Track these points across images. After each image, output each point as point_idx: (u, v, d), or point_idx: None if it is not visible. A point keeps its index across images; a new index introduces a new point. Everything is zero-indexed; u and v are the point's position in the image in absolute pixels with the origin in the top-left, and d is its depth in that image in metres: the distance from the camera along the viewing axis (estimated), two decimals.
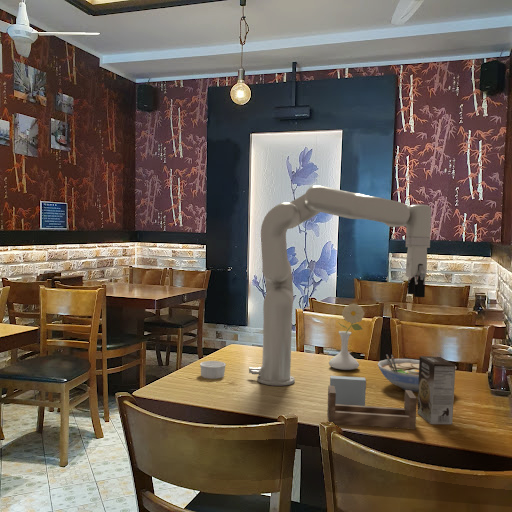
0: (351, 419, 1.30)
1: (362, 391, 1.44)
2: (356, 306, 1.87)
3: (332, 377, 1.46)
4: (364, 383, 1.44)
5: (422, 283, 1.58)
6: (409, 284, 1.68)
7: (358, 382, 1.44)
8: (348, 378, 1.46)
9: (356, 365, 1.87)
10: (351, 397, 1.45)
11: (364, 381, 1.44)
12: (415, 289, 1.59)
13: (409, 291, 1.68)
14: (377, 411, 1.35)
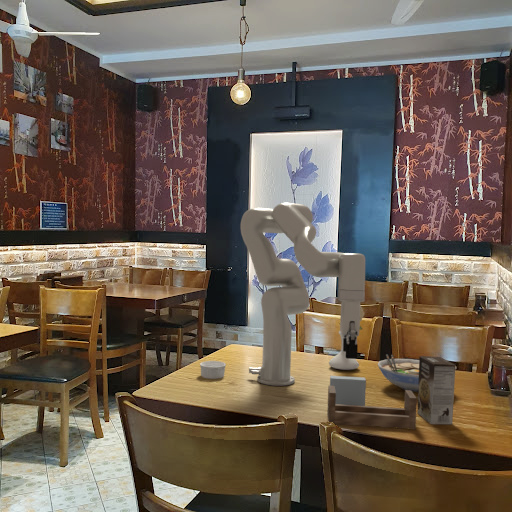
0: (351, 419, 1.30)
1: (362, 391, 1.44)
2: None
3: (332, 377, 1.46)
4: (364, 383, 1.44)
5: (354, 343, 1.39)
6: (344, 340, 1.50)
7: (358, 382, 1.44)
8: (348, 378, 1.46)
9: (356, 365, 1.87)
10: (351, 397, 1.45)
11: (364, 381, 1.44)
12: (347, 349, 1.41)
13: (344, 348, 1.50)
14: (377, 411, 1.35)
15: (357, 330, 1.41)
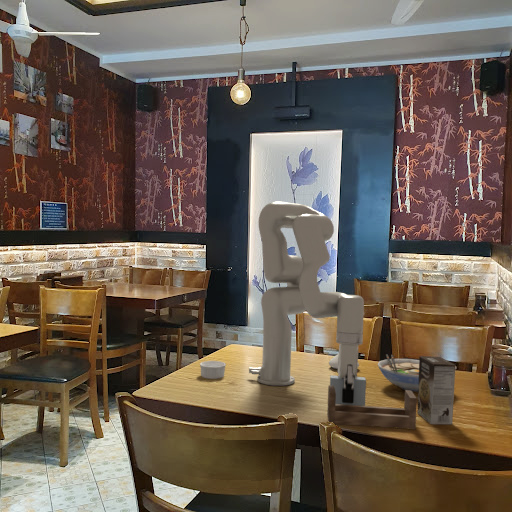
0: (351, 419, 1.30)
1: (362, 391, 1.44)
2: None
3: (332, 377, 1.46)
4: (364, 383, 1.44)
5: (350, 388, 1.43)
6: None
7: (358, 382, 1.44)
8: None
9: None
10: None
11: (364, 381, 1.44)
12: (343, 394, 1.44)
13: None
14: (377, 411, 1.35)
15: (354, 378, 1.42)
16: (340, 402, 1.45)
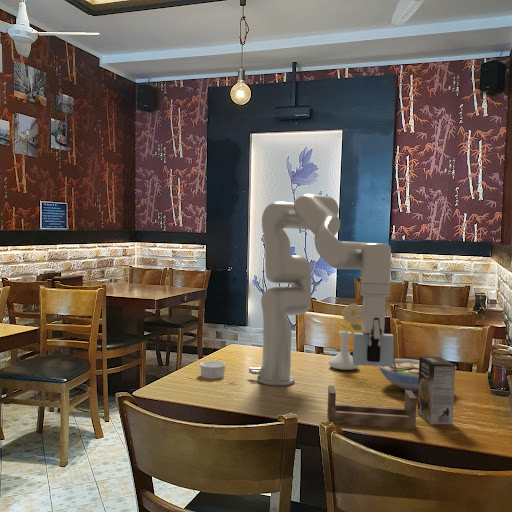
0: (351, 419, 1.30)
1: (389, 348, 1.31)
2: (356, 306, 1.87)
3: (356, 333, 1.32)
4: (392, 339, 1.30)
5: (376, 345, 1.29)
6: None
7: (385, 338, 1.31)
8: None
9: (356, 365, 1.87)
10: None
11: (392, 337, 1.30)
12: (368, 352, 1.31)
13: None
14: (377, 411, 1.35)
15: (381, 333, 1.28)
16: (365, 361, 1.31)
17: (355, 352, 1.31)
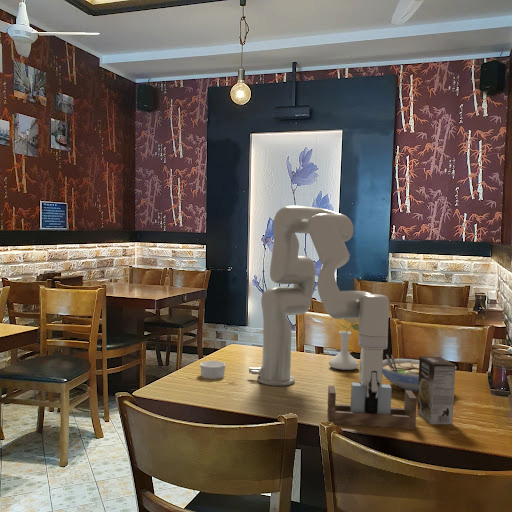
0: (351, 419, 1.30)
1: (387, 400, 1.31)
2: None
3: (354, 384, 1.33)
4: (389, 391, 1.31)
5: (374, 397, 1.30)
6: None
7: (383, 390, 1.31)
8: None
9: (356, 365, 1.87)
10: None
11: (389, 389, 1.31)
12: (366, 403, 1.31)
13: None
14: None
15: (379, 386, 1.29)
16: (363, 412, 1.32)
17: (353, 403, 1.32)
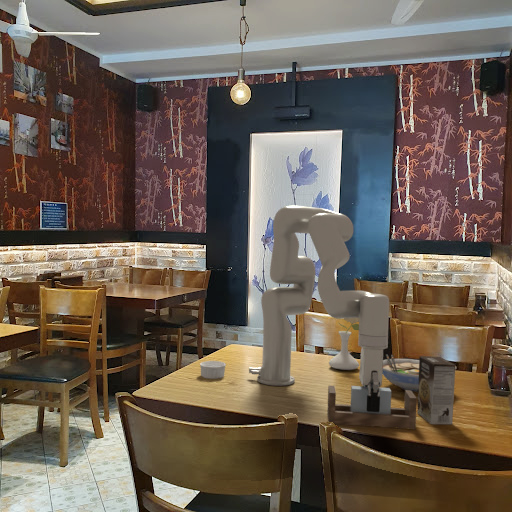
0: (351, 419, 1.30)
1: (387, 404, 1.31)
2: None
3: (354, 388, 1.33)
4: (389, 394, 1.31)
5: (376, 395, 1.27)
6: None
7: (383, 393, 1.31)
8: None
9: (356, 365, 1.87)
10: None
11: (389, 392, 1.31)
12: (368, 402, 1.28)
13: None
14: None
15: (380, 381, 1.28)
16: None
17: (353, 407, 1.32)
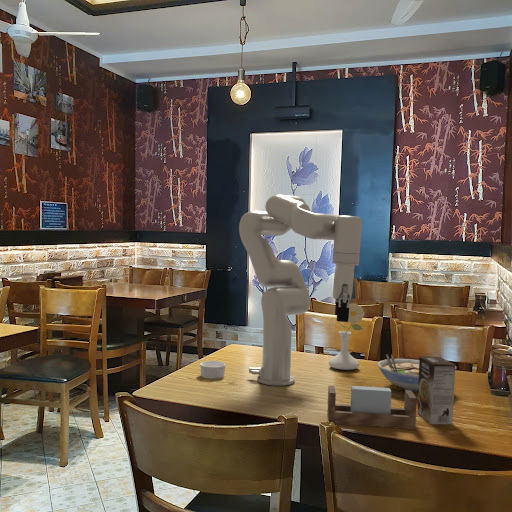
0: (351, 419, 1.30)
1: (387, 404, 1.31)
2: (356, 306, 1.87)
3: (354, 388, 1.33)
4: (389, 394, 1.31)
5: (345, 306, 1.38)
6: (337, 304, 1.49)
7: (383, 393, 1.31)
8: (371, 389, 1.32)
9: (356, 365, 1.87)
10: (375, 410, 1.31)
11: (389, 392, 1.31)
12: (338, 312, 1.40)
13: (336, 312, 1.49)
14: None
15: (349, 293, 1.39)
16: None
17: (353, 407, 1.32)
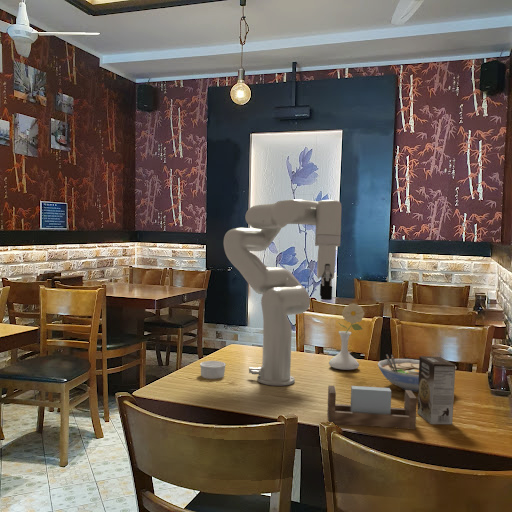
0: (351, 419, 1.30)
1: (387, 404, 1.31)
2: (356, 306, 1.87)
3: (354, 388, 1.33)
4: (389, 394, 1.31)
5: (328, 284, 1.46)
6: (321, 285, 1.57)
7: (383, 393, 1.31)
8: (371, 389, 1.32)
9: (356, 365, 1.87)
10: (375, 410, 1.31)
11: (389, 392, 1.31)
12: (322, 291, 1.47)
13: None
14: None
15: (332, 272, 1.47)
16: None
17: (353, 407, 1.32)
